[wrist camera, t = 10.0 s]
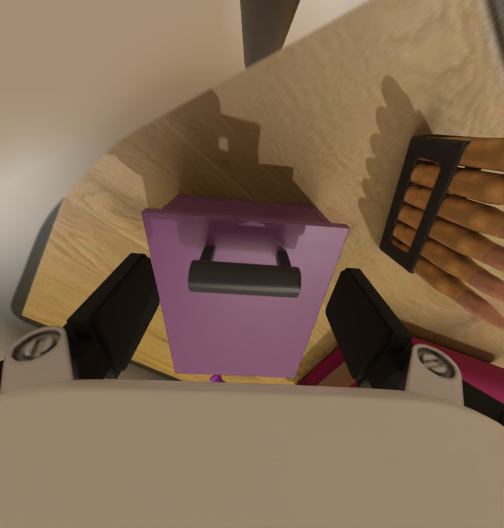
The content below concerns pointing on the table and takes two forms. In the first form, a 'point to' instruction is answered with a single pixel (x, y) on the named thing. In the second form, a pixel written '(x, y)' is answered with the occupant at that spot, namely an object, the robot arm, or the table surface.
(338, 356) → the book
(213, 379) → the pushpin
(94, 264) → the table surface
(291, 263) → the lid
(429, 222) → the ammunition clip
